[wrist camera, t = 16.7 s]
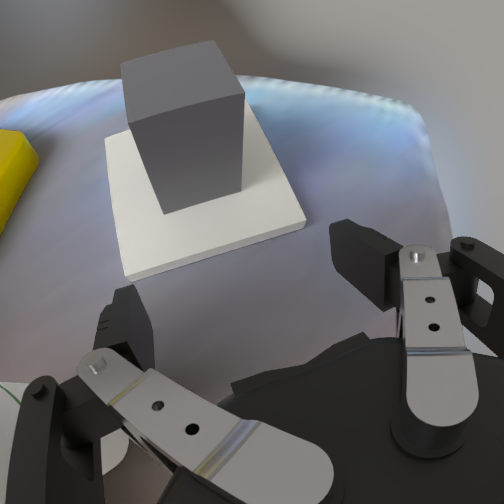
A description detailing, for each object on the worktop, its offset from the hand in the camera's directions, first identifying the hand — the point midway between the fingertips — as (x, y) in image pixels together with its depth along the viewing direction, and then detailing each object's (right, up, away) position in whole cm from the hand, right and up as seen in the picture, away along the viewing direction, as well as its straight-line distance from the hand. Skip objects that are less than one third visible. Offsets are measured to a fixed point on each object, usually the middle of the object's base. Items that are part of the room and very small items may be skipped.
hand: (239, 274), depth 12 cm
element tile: (-31, +6, +13) cm, 34 cm away
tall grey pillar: (-4, +7, +13) cm, 15 cm away
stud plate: (-4, +7, +14) cm, 16 cm away
